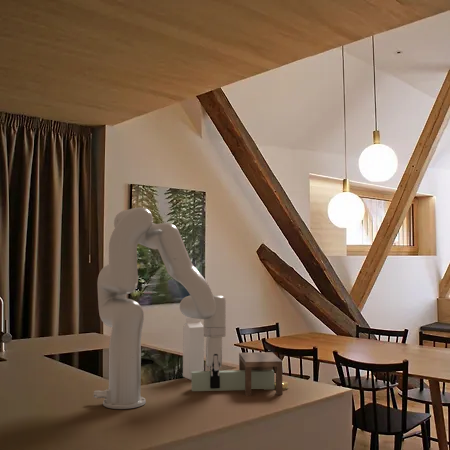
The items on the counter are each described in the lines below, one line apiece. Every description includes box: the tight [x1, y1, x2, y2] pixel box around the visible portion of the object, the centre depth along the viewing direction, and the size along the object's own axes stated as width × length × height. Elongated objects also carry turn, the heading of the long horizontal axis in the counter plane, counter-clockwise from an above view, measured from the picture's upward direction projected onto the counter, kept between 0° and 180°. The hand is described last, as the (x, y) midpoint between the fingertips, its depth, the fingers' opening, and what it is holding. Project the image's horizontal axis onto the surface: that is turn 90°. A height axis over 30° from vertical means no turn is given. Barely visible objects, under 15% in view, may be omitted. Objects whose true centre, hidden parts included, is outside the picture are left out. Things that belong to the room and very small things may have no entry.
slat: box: [191, 369, 276, 392], centre depth 179 cm, size 28×3×6 cm, turn 96°
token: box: [274, 381, 289, 391], centre depth 180 cm, size 5×5×2 cm
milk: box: [182, 317, 205, 381], centre depth 198 cm, size 6×6×22 cm
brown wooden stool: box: [238, 351, 284, 396], centre depth 180 cm, size 12×18×11 cm, turn 5°
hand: (214, 386), depth 178 cm, fingers closed on slat, 3 cm apart
